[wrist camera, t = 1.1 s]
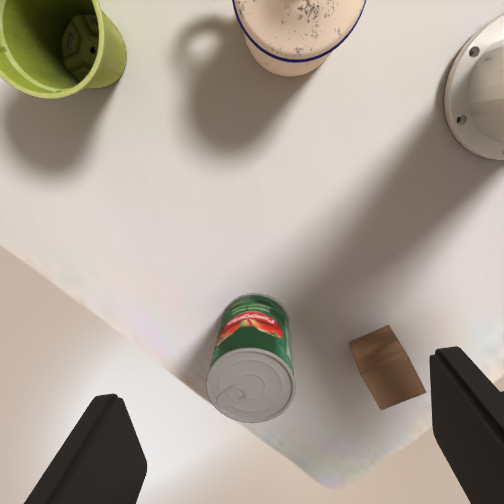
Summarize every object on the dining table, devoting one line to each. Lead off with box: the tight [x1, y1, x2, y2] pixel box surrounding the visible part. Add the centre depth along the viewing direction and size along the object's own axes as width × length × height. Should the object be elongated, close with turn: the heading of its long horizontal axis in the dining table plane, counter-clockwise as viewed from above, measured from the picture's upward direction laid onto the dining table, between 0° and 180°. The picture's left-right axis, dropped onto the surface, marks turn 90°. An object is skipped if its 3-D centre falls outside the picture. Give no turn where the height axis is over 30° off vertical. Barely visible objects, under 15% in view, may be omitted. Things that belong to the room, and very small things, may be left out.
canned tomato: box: [206, 293, 295, 423], centre depth 36 cm, size 8×8×11 cm
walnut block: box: [349, 325, 426, 410], centre depth 38 cm, size 5×5×6 cm
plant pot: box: [0, 0, 127, 99], centre depth 28 cm, size 9×9×9 cm
